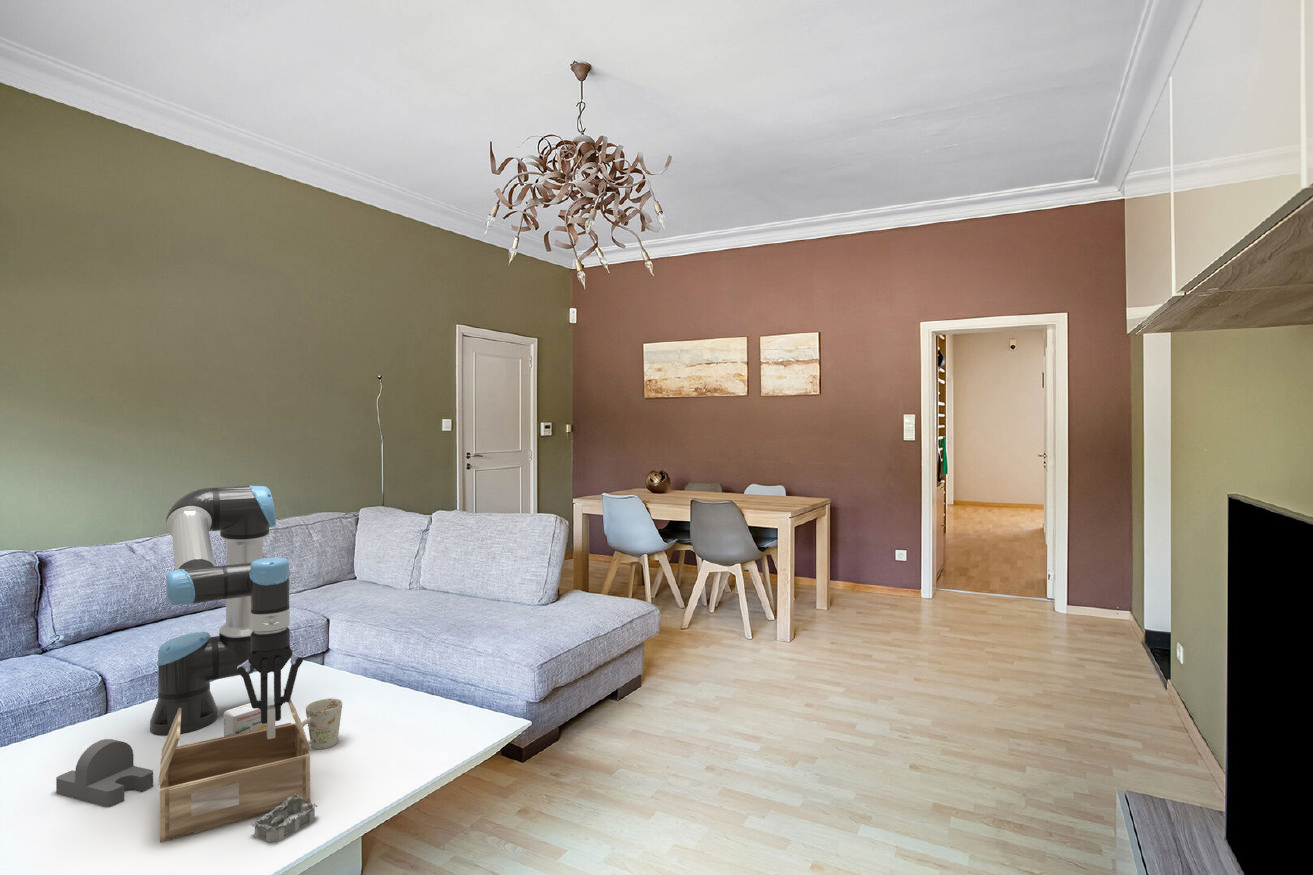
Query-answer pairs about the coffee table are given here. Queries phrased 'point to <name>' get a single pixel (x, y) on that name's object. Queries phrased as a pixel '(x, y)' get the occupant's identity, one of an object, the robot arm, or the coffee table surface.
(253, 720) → the ink box
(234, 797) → the light wood open box
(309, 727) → the mug
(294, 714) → the flap
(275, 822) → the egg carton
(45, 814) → the coffee table surface
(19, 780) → the coffee table surface
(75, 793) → the bracket
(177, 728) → the flap
